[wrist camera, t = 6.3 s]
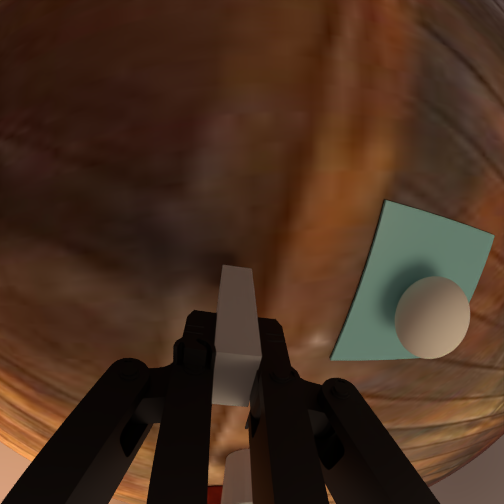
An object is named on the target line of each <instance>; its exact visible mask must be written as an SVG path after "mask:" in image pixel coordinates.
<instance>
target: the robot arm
mask: <svg viewBox="0 0 504 504" xmlns="http://www.w3.org/2000/svg"><path fill="white" fill-rule="evenodd" d="M249 401H250V412H249V416H248V419H247V422H246V426H245V429H248V427H249V446H250V465H251V483H252V500H253V504H329V501H328V496H327V492H326V487H325V484H326V486H327V488H328V490H329V492H330V493H331V495H332V497H333V499H334V501H335V503H336V504H440V503H439V502H438V500H437V499H436V498H435V496H434V494H433V493H432V492H431V490H430V489H429V488H428V486H427V485H426V483H425V482H424V481H423V479H422V478H421V477H420V475H419V474H418V472H417V471H416V470H415V468H414V467H413V465H412V464H411V463H410V461H409V460H408V459H407V457H406V456H405V454H404V453H403V452H402V450H401V449H400V448H399V446H398V445H397V443H396V442H395V441H394V439H393V438H392V437H391V435H390V434H389V432H388V431H387V430H386V428H385V427H384V426H383V424H382V423H381V421H380V420H379V419H378V417H377V416H376V415H375V413H374V412H373V411H372V409H371V408H370V406H369V405H368V404H367V402H366V401H365V400H364V398H363V397H362V395H361V394H360V393H359V391H358V390H357V389H356V387H355V386H354V385H353V384H352V383H350V382H349V381H347V380H345V379H341V378H331V379H328V380H326V381H325V382H324V383H323V385H320V384H316V383H312V382H308V381H306V380H303V379H302V378H300V376H299V374H298V372H297V371H296V370H295V369H294V368H293V367H291V364H290V360H289V355H288V351H287V346H286V343H285V338H284V333H283V329H282V326H281V325H280V324H279V323H278V321H277V320H276V319H268V318H259V317H257V309H256V301H255V292H254V283H253V274H252V269H250V268H243V267H236V266H229V265H223V267H222V274H221V281H220V288H219V295H218V302H217V310H216V313H212V312H205V311H198V310H194V311H192V312H191V313H190V314H189V315H188V316H187V320H186V325H185V328H184V333H183V337H182V338H180V339H179V340H177V341H176V342H175V344H174V348H173V363H172V364H170V365H168V366H165V367H160V368H148V367H147V366H146V364H145V363H143V362H142V361H140V360H138V359H133V358H123V359H120V360H117V361H116V362H114V363H113V364H112V365H111V366H110V367H109V368H108V370H107V371H106V372H105V373H104V374H103V375H102V377H101V378H100V379H99V380H98V381H97V382H96V384H95V385H94V386H93V387H92V388H91V390H90V391H89V392H88V393H87V394H86V396H85V397H84V398H83V399H82V400H81V402H80V403H79V404H78V405H77V406H76V408H75V409H74V410H73V411H72V412H71V414H70V415H69V416H68V417H67V419H66V420H65V421H64V422H63V423H62V425H61V426H60V427H59V428H58V430H57V431H56V432H55V433H54V435H53V436H52V437H51V438H50V440H49V441H48V442H47V443H46V445H45V446H44V447H43V448H42V450H41V451H40V452H39V454H38V455H37V456H36V457H35V459H34V460H33V461H32V463H31V464H30V465H29V466H28V468H27V469H26V470H25V472H24V473H23V474H22V476H21V477H20V478H19V480H18V481H17V482H16V484H15V485H14V487H13V488H12V489H11V491H10V492H9V493H8V494H7V496H6V497H5V499H4V500H3V501H2V503H1V504H108V503H109V502H110V500H111V498H112V496H113V495H114V493H115V491H116V489H117V487H118V486H119V484H120V482H121V480H122V479H123V477H124V475H125V473H126V472H127V470H128V468H129V466H130V465H131V463H132V461H133V459H134V458H135V456H136V454H137V452H138V451H139V449H140V447H141V445H142V444H143V442H144V440H145V438H146V436H147V435H148V433H149V431H150V429H151V428H152V426H153V424H154V423H161V424H160V429H159V434H158V439H157V444H156V450H155V455H154V461H153V466H152V472H151V478H150V484H149V491H148V497H147V504H207V494H208V466H209V444H210V425H211V408H212V404H221V405H231V406H244V407H248V405H249Z"/></svg>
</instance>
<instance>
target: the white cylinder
mask: <svg viewBox="0 0 504 504" xmlns="http://www.w3.org/2000/svg"><path fill="white" fill-rule="evenodd" d="M221 504H253V500H252V483H251V465H250V449H243V450H239V451H235V452H233V453H231V454H229V455H228V456H227V458H226V464H225V472H224V481H223V489H222V498H221Z"/></svg>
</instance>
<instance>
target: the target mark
mask: <svg viewBox="0 0 504 504" xmlns="http://www.w3.org/2000/svg"><path fill="white" fill-rule="evenodd" d="M494 236H495V235H492V234H490V233H487V232H485V231H482V230H479V229H476V228H474V227H471V226H468V225H465V224H462V223H460V222H457V221H454V220H451V219H448V218H445V217H442V216H438V215H435V214H432V213H429V212H426V211H423V210H419V209H416V208H413V207H409V206H406V205H402V204H399V203H395V202H392V201H388V200H384V204H383V208H382V212H381V215H380V219H379V223H378V226H377V230H376V233H375V237H374V240H373V243H372V247H371V250H370V253H369V256H368V259H367V262H366V265H365V268H364V271H363V274H362V277H361V280H360V283H359V286H358V289H357V292H356V294H355V297H354V300H353V303H352V305H351V308H350V311H349V313H348V316H347V318H346V321H345V323H344V326H343V328H342V331H341V333H340V336H339V338H338V341H337V343H336V345H335V348H334V350H333V352H332V355H331V357H330V360H391V359H410V358H421V357H417V356H415V355H413V354H412V353H410V352H409V351H408V350H406V349H405V348H404V346H403V345H402V344H401V342H400V340H399V338H398V336H397V333H396V329H395V312H396V308H397V305H398V302H399V300H400V298H401V297H402V295H403V293H404V292H405V291H406V290H407V289H408V288H409V287H410V286H411V285H412V284H413V283H415V282H416V281H418V280H420V279H423V278H426V277H431V276H439V277H444V278H448V279H450V280H452V281H453V282H455V283H456V284H457V285H458V286H459V287H460V288H461V289H462V290H463V292H464V294H465V295H466V297H467V300H468V303H469V302H470V299H471V297H472V295H473V293H474V290H475V288H476V286H477V283H478V281H479V278H480V276H481V273H482V271H483V268H484V266H485V263H486V260H487V257H488V254H489V252H490V249H491V246H492V243H493V239H494Z"/></svg>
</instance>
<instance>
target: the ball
mask: <svg viewBox="0 0 504 504" xmlns="http://www.w3.org/2000/svg"><path fill="white" fill-rule="evenodd" d="M469 321H470V308H469V303H468V300H467V297H466V295H465V294H464V292H463V290H462V289H461V288H460V287H459V286H458V285H457V284H456V283H455V282H453V281H452V280H450V279H448V278H444V277H439V276H431V277H426V278H423V279H420V280H418V281H416V282H415V283H413V284H412V285H411V286H410V287H409V288H408V289H407V290H406V291H405V292H404V293H403V295H402V297H401V298H400V300H399V302H398V305H397V308H396V312H395V329H396V333H397V336H398V338H399V340H400V342H401V344H402V345H403V346H404V348H405V349H406V350H408V351H409V352H410V353H412V354H413V355H415V356H417V357H421V358H426V359H433V358H439V357H442V356H444V355H446V354H448V353H450V352H451V351H453V350H454V349H455V348H456V347H457V346H458V345H459V344H460V342H461V341H462V340H463V338H464V336H465V334H466V332H467V329H468V326H469Z"/></svg>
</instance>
